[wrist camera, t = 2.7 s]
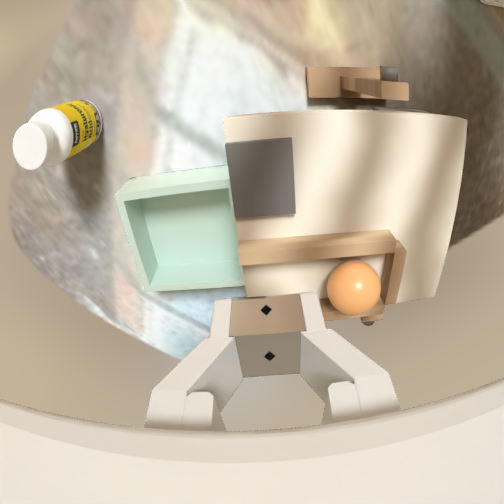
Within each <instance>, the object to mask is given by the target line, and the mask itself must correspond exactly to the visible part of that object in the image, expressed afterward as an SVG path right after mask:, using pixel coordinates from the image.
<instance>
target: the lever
mask: <svg viewBox="0 0 504 504" xmlns="http://www.w3.org/2000/svg"><path fill="white" fill-rule="evenodd" d="M223 125H224V133H225V141H226V144H225V148H226V155H227V163H228V171H229V178H230V186H231V193H232V200H233V208H234V215H235V219H236V224H237V231H238V238H239V246H238V257H239V264H240V266H242V267H243V274H244V281H245V289H246V296H247V297H257V296H272V295H284V294H294V293H300V292H309V291H316V292H317V294H318V298H319V302H320V306H321V310H322V314H323V318H324V321H330V320H339V319H347V318H356V317H364V316H372V315H379V314H383V311H384V306H385V305H388V304H395V303H400V302H406V301H413V300H420V299H425V298H433V297H434V296H435V293H436V290H437V287H438V283H439V280H440V276H441V273H442V269H443V265H444V262H445V258H446V254H447V250H448V246H449V242H450V237H451V233H452V228H453V224H454V219H455V214H456V209H457V203H458V197H459V191H460V185H461V178H462V171H463V163H464V155H465V145H466V133H467V120H466V119H463V118H460V117H456V116H448V115H439V114H433V113H430V112H427V111H424V110H418V109H405V108H388V107H373V110H305V111H285V112H270V113H258V114H247V115H237V116H228V117H224V118H223ZM351 260H358V261H362V262H365V263H367V264H369V265H370V266H372V267H373V268H374V269H375V271H376V272H377V274H378V276H379V278H380V282H381V293H380V297H379V299H378V301H377V303H376V304H375V305H374V307H373V308H372V309H370V310H369V311H368V312H366V313H364V314H361V315H347V314H344V313H341V312H340V311H338V310H337V309H336V308H335V307H334V306H333V305H332V303H331V302H330V300H329V297H328V293H327V284H328V280H329V277H330V275H331V273H332V272H333V270H334V269H335V268H336V267H337V266H339V265H340V264H342V263H344V262H346V261H351Z"/></svg>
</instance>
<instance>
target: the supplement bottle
mask: <svg viewBox="0 0 504 504" xmlns="http://www.w3.org/2000/svg"><path fill="white" fill-rule="evenodd" d="M101 130H102V117H101V113H100V111H99V109H98V108H97V107H96V106H95V105H94V104H93V103H92V102H90V101H87V100H76V101H71V102H67V103H64V104H60V105H57V106H53V107H50V108H46V109H44V110H41V111H39V112H38V113H36V114H35V115H34V116H33V117H32V118H31V119H30V121H29V122H28V123H27V124H24V125H22V126H21V127H20V128H19V129H18V130H17V132H16V133H15V136H14V139H13V152H14V156H15V158H16V160H17V162H18V163H19V164H20V165H21V166H22V167H23V168H25V169H28V170H35V169H37V168H39V167H41V166H43V167H53V166H56V165H58V164H60V163H62V162H63V161H65V160H67V159H68V158H70V157H72V156H73V155H75V154H77V153H79V152H80V151H82V150H84V149H85V148H87V147H89V146H90V145H92V144H93V143H94V142H95V141H96V140H97V139H98V137H99V135H100V133H101Z"/></svg>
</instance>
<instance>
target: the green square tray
mask: <svg viewBox="0 0 504 504" xmlns="http://www.w3.org/2000/svg"><path fill="white" fill-rule="evenodd" d="M114 196H115V199H116V203H117V206H118V210H119V213H120V217H121V220H122V223H123V227H124V230H125V233H126V236H127V239H128V243H129V246H130V249H131V252H132V255H133V258H134V261H135V264H136V267H137V270H138V272H139V275H140V278H141V281H142V284H143V286H144V289H145V292H152V291H171V290H189V289H205V288H221V287H235V286H245V281H244V274H243V267H242V266H240V264H239V257H238V246H239V238H238V231H237V224H236V219H235V215H234V208H233V200H232V193H231V186H230V178H229V171H228V165H221V166H212V167H204V168H196V169H188V170H181V171H174V172H167V173H160V174H154V175H147V176H141V177H135V178H130V179H129V180H128V181H127V182H126V183H125V184H124V185H123V186H122V187H121V188H120V189H119V190H118V191H117V192H116V193H115V194H114Z"/></svg>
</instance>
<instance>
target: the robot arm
mask: <svg viewBox="0 0 504 504" xmlns="http://www.w3.org/2000/svg"><path fill="white" fill-rule="evenodd" d="M480 1H481V2H482V3H484V4H487V5H492V6H498V7H503V8H504V0H480ZM299 373H300V375H301V376H302V377H303V379H304V380H305V381H306V382H307V383H308V384H309V385H310V387H311V388H312V389H313V390H314V391H315V392H316V393H317V395H318V396H319V397H320V398H321V399H322V400H323V401H324V403H325V408H324V413H323V419H322V424H321V425H315V426H307V427H298V428H288V429H287V428H286V429H274V430H255V431H227V430H226V428H225V425H224V423H223V420H222V417H221V415H220V412H221V411H222V409H223V408H224V406H225V405H226V404H227V402H228V401H229V399H230V398H231V396H232V395H233V393H234V392H235V390H236V389H237V387H238V386H239V385H240V383H241V382H242V380H243V378H244V377H256V376H268V375H282V374H283V375H284V374H299ZM0 504H504V378H502V379H499V380H497V381H494V382H491V383H489V384H486V385H484V386H481V387H478V388H476V389H472V390H470V391H467V392H464V393H461V394H458V395H455V396H451V397H448V398H445V399H442V400H438V401H435V402H432V403H428V404H424V405H421V406H417V407H413V408H408V409H404V410H401V409H400V406H399V403H398V400H397V397H396V394H395V391H394V387H393V385H392V382H391V379H390V376H389V373H388V372H387V371H385V370H384V369H383V368H381V367H380V366H379V365H377V364H376V363H375V362H374V361H372V360H371V359H370V358H368V357H367V356H366V355H364V354H363V353H362V352H361V351H359V350H358V349H357V348H356V347H354V346H353V345H352V344H350V343H349V342H348V341H347V340H345V339H344V338H343V337H341V336H340V335H339V334H337V333H336V332H335V331H334V330H332V329H326V326H325V322H324V318H323V314H322V310H321V306H320V302H319V298H318V294H317V292H316V291H309V292H300V293H294V294H284V295H272V296H257V297H237V298H222V299H216V300H215V301H214V306H213V314H212V321H211V328H210V336H209V338H204V339H203V340H202V341H201V342H200V343H199V344H198V345H197V346H196V347H195V348H194V349H193V350H192V351H191V352H190V353H189V354H188V355H187V356H186V357H185V358H184V359H183V360H182V361H181V362H180V363H179V364H178V365H177V366H176V367H175V368H174V369H173V370H172V371H171V372H170V373H169V374H168V375H167V376H166V377H165V378H164V379H163V380H162V381H161V382H160V383H159V384H158V385H157V386H156V387H155V388H154V389H153V391H152V395H151V400H150V404H149V408H148V413H147V417H146V422H145V426H144V428H141V427H132V426H123V425H116V424H108V423H102V422H95V421H89V420H84V419H78V418H73V417H68V416H63V415H59V414H54V413H50V412H45V411H41V410H37V409H34V408H30V407H26V406H22V405H18V404H15V403H12V402H9V401H5V400H2V399H0Z"/></svg>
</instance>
